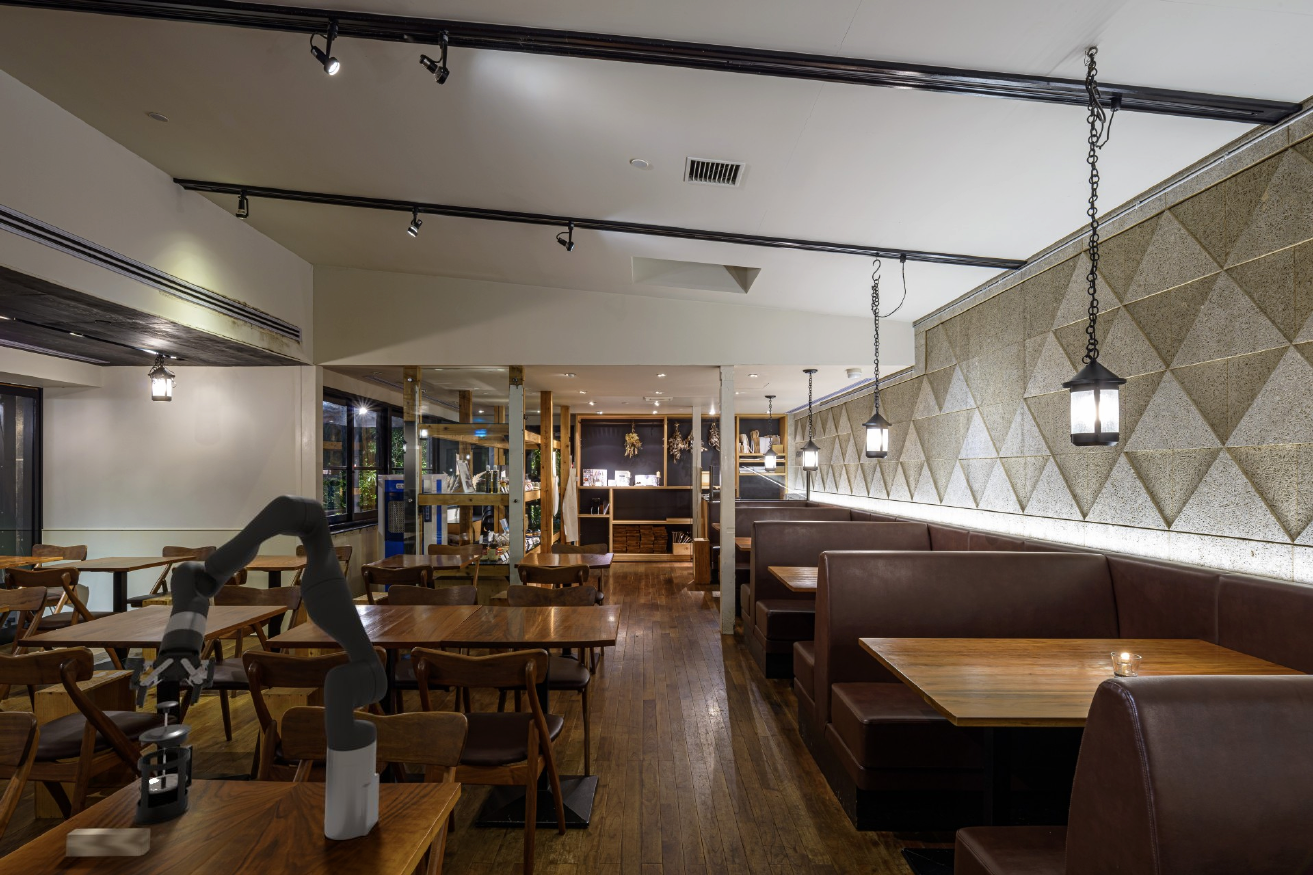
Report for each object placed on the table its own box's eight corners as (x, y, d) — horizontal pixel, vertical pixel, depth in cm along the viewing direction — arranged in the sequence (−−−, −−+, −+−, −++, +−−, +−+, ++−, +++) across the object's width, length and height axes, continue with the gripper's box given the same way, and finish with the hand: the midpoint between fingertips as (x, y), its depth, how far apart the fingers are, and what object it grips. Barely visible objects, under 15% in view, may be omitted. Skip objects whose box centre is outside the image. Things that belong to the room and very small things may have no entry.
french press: (159, 828, 134) (163, 713, 136) (119, 824, 136) (123, 710, 137) (206, 800, 146) (210, 694, 147) (169, 796, 148) (173, 691, 149)
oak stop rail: (149, 849, 127) (150, 828, 127) (141, 855, 125) (142, 833, 125) (74, 850, 127) (75, 828, 127) (65, 856, 125) (66, 834, 125)
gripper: (144, 627, 141) (123, 695, 129) (223, 627, 148) (210, 692, 136) (142, 648, 145) (122, 717, 133) (220, 648, 152) (207, 713, 140)
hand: (166, 704), depth 135 cm, fingers open, 8 cm apart
